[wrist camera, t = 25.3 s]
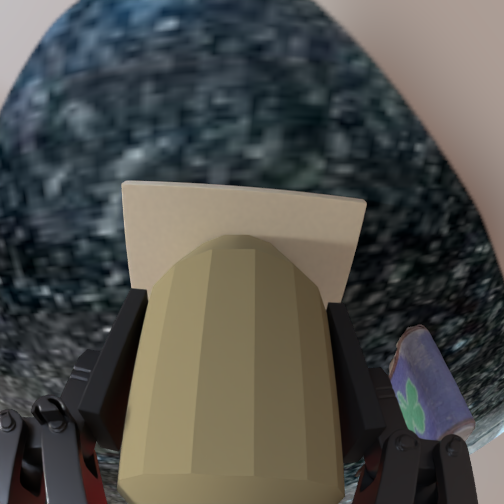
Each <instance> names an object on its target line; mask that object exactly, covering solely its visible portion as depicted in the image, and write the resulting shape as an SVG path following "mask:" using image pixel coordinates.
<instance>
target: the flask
mask: <svg viewBox="0 0 504 504" xmlns="http://www.w3.org/2000/svg"><path fill="white" fill-rule="evenodd" d="M419 326H421V327H419ZM422 327H424V328H422ZM396 347H397V351H396V353H395V356H394V358H393V359H392V361H391V363H390V366H389V371H390V374H389V379H390V381H391V384H392V386H393V387H392V389H394V392H395V394H396V395H395V397H397V400H398V403H399V405H400V408H401V411H402V414H403V417H404V419H405V422H406V425H407V427H408V429H409V430H412V431H413V432H414V433H416V434H417V435H418V437H419V438H422V439H428V440H437V441H440V440H441V439H442V438H444V437H445V436H446V435H449V434H455V435H458V436H460V437H461V438H462V439H463V440H464V441H466V440H467V439H468V437H469V436H470V435H471V433H472V431H473V430H474V429H475V421H474V418H473V416H472V414H471V413H470V411H469V409H468V407H467V404H466V402H465V400H464V398H463V396H462V395H461V393H460V390H459V388H458V386H457V384H456V382H455V380H454V378H453V376H452V374H451V373H450V371H449V369H448V367H447V365H446V363H445V361H444V359H443V357H442V355H441V353H440V351H439V349H438V347H437V345H436V344H435V342H434V341H433V339H432V336H431V334H430V333H429V331H428V330H427V329H426V328H425V326H423V325H419V324H418V325H417V326H414V327H408V328H407V329H406V331H405V332H404V334H403V335H402V336H401V337H400V338H399V341H398V343H397V344H396Z"/></svg>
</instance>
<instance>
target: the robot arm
mask: <svg viewBox="0 0 504 504" xmlns="http://www.w3.org/2000/svg"><path fill="white" fill-rule="evenodd" d="M147 305H148V295H147V290H146V289H136V288H131V289H130V291H129V293H128V295H127V297H126V299H125V301H124V303H123V305H122V307H121V309H120V311H119V314H118V316H117V318H116V320H115V322H114V324H113V326H112V328H111V331H110V333H109V335H108V337H107V339H106V341H105V344H104V346H103V348H102V350H101V352H100V351H95V350H89V349H87V350H86V351H85V352H84V353H83V354H82V355H81V356H80V357H79V358H78V360H77V362H76V364H75V366H74V369H73V370H72V373H71V375H70V377H69V379H68V381H67V383H66V386H65V388H64V390H63V392H62V395H61V397H60V398H59V397H57V396H55V395H45V396H42V397H40V398H39V399H37V400H36V401H35V403H34V404H33V405H32V409H31V413H32V414H33V416H34V417H21V416H20V415H19V414H18V412H17V411H15V410H12V409H5V410H3V411H1V412H0V504H45V499H46V496H47V502H48V504H107V500H106V496H105V492H104V488H103V484H102V479H101V475H100V470H99V465H98V460H97V455H96V452H95V450H94V447H95V444H96V441H97V442H98V444H99V446H100V447H102V448H106V449H110V450H115V451H119V450H120V446H121V442H122V438H123V431H124V424H125V417H126V411H127V404H128V398H129V392H130V386H131V381H132V375H133V370H134V365H135V360H136V355H137V350H138V345H139V340H140V335H141V331H142V326H143V321H144V317H145V313H146V309H147ZM326 312H327V317H328V324H329V331H330V339H331V346H332V354H333V362H334V370H335V379H336V388H337V398H338V408H339V418H340V430H341V442H342V456H343V463H350V462H358V461H359V460H360V459H361V458H362V457H363V455H364V459H365V464H364V465H363V466H362V467H361V468H360V469H359V470H358V471H357V473H356V475H355V477H358V476H359V475H360V477H359V481H358V485H357V488H356V492H355V495H354V499H353V502H352V504H478V500H477V493H476V487H475V482H474V477H473V471H472V466H471V461H470V457H469V452H468V448H467V445H466V442H465V441H464V440H463V439H462V438H461V437H460V436H458V435H455V434H449V435H446V436H445V437H444V438H442V439H441V440H440V441H437V440H428V439H422V438H419V437H418V435H417V434H416V433H414V432H413V431H412V430H409V429H408V427H407V425H406V422H405V419H404V417H403V414H402V411H401V408H400V405H399V403H398V400H397V397H395V395H396V394H395V392H394V389H392V387H393V386H392V384H391V381H390V379H389V376H388V375H387V374H386V373H385V372H384V371H383V369H382V368H381V367H379V368H368V367H367V364H366V361H365V358H364V356H363V353H362V350H361V347H360V344H359V342H358V339H357V336H356V333H355V331H354V328H353V325H352V323H351V320H350V317H349V315H348V312H347V309H346V307H345V304H344V303H333V302H328V305H327V309H326Z"/></svg>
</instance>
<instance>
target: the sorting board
mask: <svg viewBox="0 0 504 504" xmlns="http://www.w3.org/2000/svg"><path fill="white" fill-rule="evenodd" d="M122 198H123V213H124V225H125V236H126V246H127V255H128V264H129V272H130V280H131V287H132V288H136V289H146V290H147V295H148V302H149V298H150V294H151V291H152V287H153V285H154V284H155V283H156V282H157V281H158V280H159V279H160V278H161V277H162V276H163V275H164V274H165V273H166V272H167V271H168V270H169V269H170V268H171V267H172V266H173V265H174V264H175V263H176V262H178V261H179V260H180V259H182V258H183V257H185V256H186V255H187V254H189V253H190V252H191V251H193V250H194V249H196V248H197V247H198V246H200V245H201V244H203V243H204V242H207V241H210V240H212V239H215V238H218V237H220V236H223V235H251V236H253V237H256V238H259V239H261V240H264V241H266V242H269V243H271V244H272V245H273V246H274V247H276V248H277V249H278V250H279V251H280V252H281V253H282V254H283V255H284V256H285V257H287V258H288V259H289V260H290V261H291V262H292V263H293V264H294V265H295V266H296V267H297V268H298V269H300V270H301V271H302V272H303V273H304V274H305V275H306V276H307V277H308V278H309V279H310V280H311V281H312V282H313V283H314V284H315V285H316V286H318V289H319V291H320V294H321V297H322V300H323V303H324V306H325V309H327V305H328V302H333V303H341V300H342V297H343V293H344V290H345V286H346V283H347V280H348V276H349V272H350V269H351V265H352V262H353V258H354V254H355V250H356V247H357V243H358V239H359V235H360V231H361V227H362V223H363V219H364V214H365V210H366V206H367V203H366V202H365V201H364V200H363V199H357V198H349V197H342V196H334V195H325V194H316V193H307V192H298V191H288V190H278V189H267V188H256V187H243V186H230V185H215V184H199V183H180V182H157V181H125V182H124V183H122Z"/></svg>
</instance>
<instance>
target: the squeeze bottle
mask: <svg viewBox="0 0 504 504" xmlns="http://www.w3.org/2000/svg"><path fill="white" fill-rule="evenodd" d="M117 491H118V492H119V493H120V494H121V496H122V497H123V498H124V499H125V501H126V502H127V503H128V504H338V503H339V502H340V501H341V500H342V499H343V498H344V497H345V490H344V471H343V456H342V442H341V430H340V418H339V408H338V398H337V388H336V379H335V370H334V362H333V354H332V346H331V339H330V331H329V324H328V317H327V312H326V309H325V306H324V303H323V300H322V297H321V294H320V291H319V289H318V286H316V285H315V284H314V283H313V282H312V281H311V280H310V279H309V278H308V277H307V276H306V275H305V274H304V273H303V272H302V271H301V270H300V269H298V268H297V267H296V266H295V265H294V264H293V263H292V262H291V261H290V260H289V259H288V258H287V257H285V256H284V255H283V254H282V253H281V252H280V251H279V250H278V249H277V248H276V247H274V246H273V245H272V244H271V243H269V242H266V241H264V240H261V239H259V238H256V237H253V236H251V235H223V236H220V237H218V238H215V239H212V240H210V241H207V242H204V243H203V244H201V245H200V246H198V247H197V248H196V249H194V250H193V251H191V252H190V253H189V254H187V255H186V256H185V257H183V258H182V259H180V260H179V261H178V262H176V263H175V264H174V265H173V266H172V267H171V268H170V269H169V270H168V271H167V272H166V273H165V274H164V275H163V276H162V277H161V278H160V279H159V280H158V281H157V282H156V283H155V284H154V285H153V287H152V291H151V294H150V298H149V302H148V305H147V309H146V313H145V317H144V321H143V326H142V331H141V335H140V340H139V345H138V350H137V355H136V360H135V365H134V370H133V375H132V381H131V386H130V392H129V398H128V404H127V411H126V417H125V424H124V431H123V438H122V446H121V454H120V462H119V471H118V481H117Z"/></svg>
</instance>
